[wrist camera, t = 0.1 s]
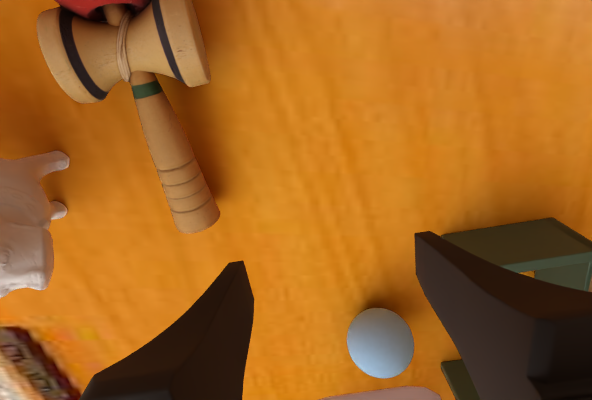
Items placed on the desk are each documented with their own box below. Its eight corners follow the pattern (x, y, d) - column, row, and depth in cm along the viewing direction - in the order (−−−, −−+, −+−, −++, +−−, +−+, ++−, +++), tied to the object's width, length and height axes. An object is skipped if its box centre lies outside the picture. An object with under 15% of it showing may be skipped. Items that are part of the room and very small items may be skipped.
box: (532, 355, 31) (574, 408, 26) (440, 368, 31) (466, 422, 26) (553, 216, 25) (611, 253, 20) (440, 234, 25) (474, 274, 21)
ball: (403, 336, 29) (424, 388, 25) (346, 344, 29) (356, 398, 25) (400, 290, 27) (423, 338, 23) (339, 299, 27) (349, 348, 23)
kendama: (267, 187, 25) (177, -150, 15) (246, 244, 20) (88, -215, 10) (172, 197, 26) (38, -103, 17) (129, 251, 21) (-100, -138, 12)
